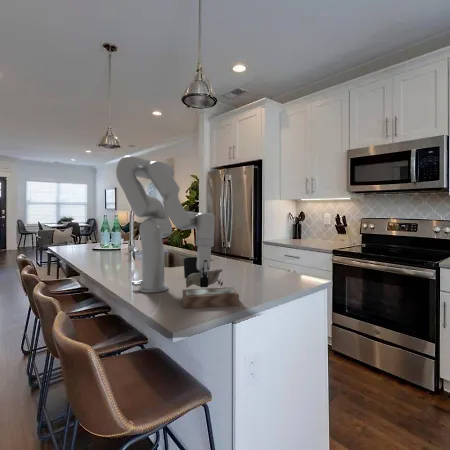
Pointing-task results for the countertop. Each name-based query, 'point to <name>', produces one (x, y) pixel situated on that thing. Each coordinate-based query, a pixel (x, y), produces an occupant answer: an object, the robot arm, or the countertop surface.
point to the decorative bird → (195, 277)
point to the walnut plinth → (210, 297)
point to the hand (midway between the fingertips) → (203, 284)
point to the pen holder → (190, 266)
